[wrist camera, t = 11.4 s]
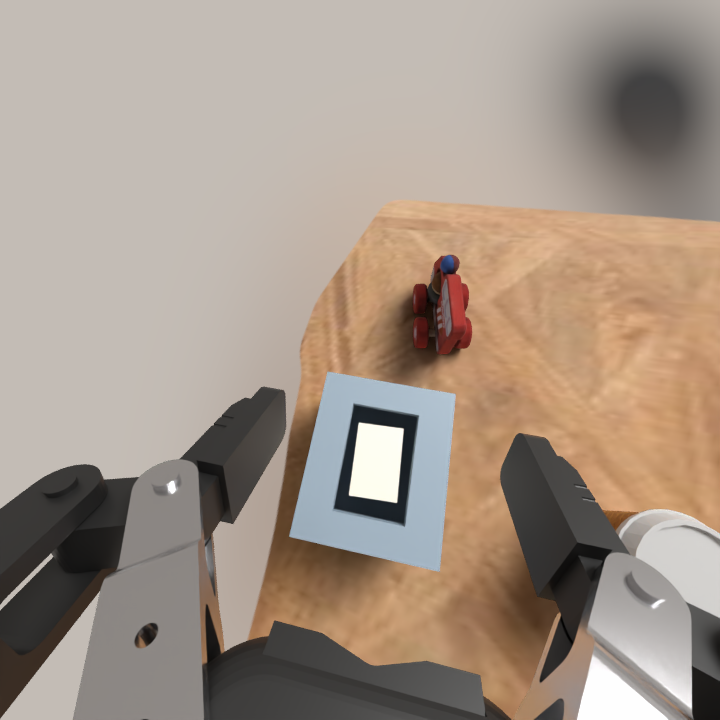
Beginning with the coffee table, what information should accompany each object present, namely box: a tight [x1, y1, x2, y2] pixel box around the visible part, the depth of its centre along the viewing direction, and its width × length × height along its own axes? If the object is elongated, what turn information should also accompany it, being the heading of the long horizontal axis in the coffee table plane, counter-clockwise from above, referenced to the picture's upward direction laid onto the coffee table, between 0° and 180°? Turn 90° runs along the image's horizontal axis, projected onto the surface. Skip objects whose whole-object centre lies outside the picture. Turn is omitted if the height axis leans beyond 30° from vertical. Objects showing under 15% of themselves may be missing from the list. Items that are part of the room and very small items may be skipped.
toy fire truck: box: [413, 255, 472, 354], centre depth 36 cm, size 7×12×10 cm, turn 178°
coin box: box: [289, 372, 456, 572], centre depth 30 cm, size 14×12×11 cm
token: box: [349, 423, 404, 503], centre depth 30 cm, size 6×4×10 cm, turn 172°
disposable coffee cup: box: [602, 509, 720, 618], centre depth 26 cm, size 10×10×12 cm
